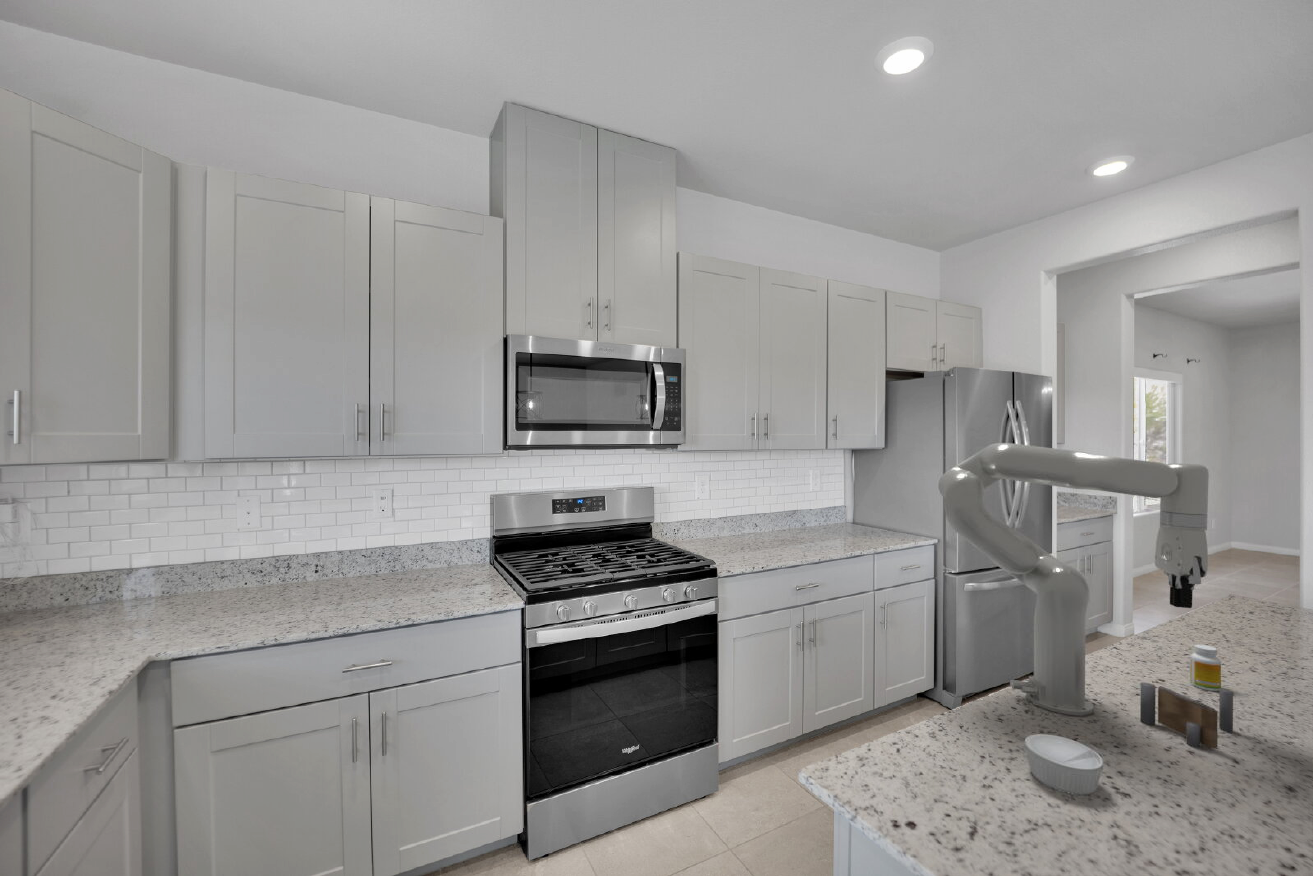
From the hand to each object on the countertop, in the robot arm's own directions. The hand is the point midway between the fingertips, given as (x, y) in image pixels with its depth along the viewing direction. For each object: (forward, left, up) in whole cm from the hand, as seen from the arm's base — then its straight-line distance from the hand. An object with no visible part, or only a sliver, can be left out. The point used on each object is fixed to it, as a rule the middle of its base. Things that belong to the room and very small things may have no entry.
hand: (1180, 606), depth 123 cm
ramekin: (-36, -30, -25) cm, 53 cm away
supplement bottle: (+18, +21, -24) cm, 37 cm away
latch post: (+6, -3, -24) cm, 25 cm away
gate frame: (-6, -7, -24) cm, 26 cm away
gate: (-4, -9, -24) cm, 25 cm away
